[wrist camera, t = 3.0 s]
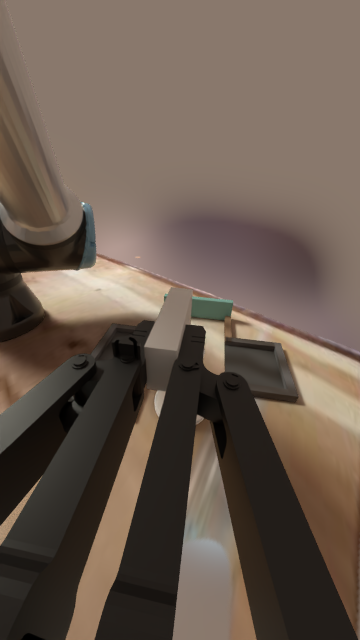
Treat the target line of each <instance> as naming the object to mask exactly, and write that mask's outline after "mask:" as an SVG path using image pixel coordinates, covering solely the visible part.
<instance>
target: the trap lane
mask: <svg viewBox="0 0 360 640" xmlns="http://www.w3.org/2000/svg"><path fill="white" fill-rule="evenodd" d="M136 327H137V326H129V325H121V324H112V325H111V326H110V328H109V329H108V331H107V332H106V333H105V335H104V336H103V338H102V339H101V340H100V342H99V343H98V345H97V346H96V347H95V349H94V350H93V351H92V353H91V354H90V355H92V356H93V357H94V359H95V361H102V360H109V359H112V358H113V349H112V343H111V342H112V341H113V340H114V339H116V338H118V337H120V336H125V335H130V336H132V334H133V332H134V331H135V329H136ZM224 333H225V372H234V373H237V374H240V375H241V376H242V377H244V378H245V380H246V381H247V383H248V385H249V387H250V390H251V392H252V394H253V396H256V397H263V398H270V399H277V400H284V401H291V402H296V401H297V399H298V394H297V391H296V388H295V385H294V382H293V379H292V376H291V373H290V370H289V367H288V364H287V361H286V358H285V355H284V352H283V349H282V346H281V343H274V342H265V341H257V340H248V339H240V338H232V332H231V316H225V320H224Z"/></svg>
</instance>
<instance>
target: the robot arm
mask: <svg viewBox="0 0 360 640" xmlns="http://www.w3.org/2000/svg"><path fill="white" fill-rule="evenodd" d="M95 242H96V241H95V225H94V217H93V211H92V207H91V206H90V205H89V204H87V203H84V202H80V200H79V198H78V197H77V195H76V194H75V193H74V192H73V191H72V190H71V189H70V188H68V187H67V186H65V185H64V181H63V179H62V175H61V172H60V169H59V166H58V163H57V160H56V156H55V153H54V150H53V147H52V144H51V141H50V138H49V135H48V131H47V129H46V125H45V122H44V119H43V116H42V113H41V110H40V106H39V103H38V100H37V97H36V94H35V91H34V88H33V85H32V81H31V79H30V75H29V72H28V69H27V66H26V63H25V60H24V57H23V53H22V50H21V47H20V44H19V41H18V38H17V35H16V31H15V28H14V25H13V22H12V19H11V16H10V13H9V10H8V6H7V3H6V0H0V341H5V340H8V339H11V338H14V337H17V336H19V335H22V334H24V333H26V332H28V331H29V330H31V329H33V328H34V327H36V326H37V325H38V324H39V323H40V322H41V321H42V319H43V317H44V310H43V307H42V304H41V302H40V301H39V300H38V298H37V297H36V296H35V295H34V293H33V292H32V291H31V290H30V288H29V287H28V286H27V285H26V283H25V282H24V281H23V278H22V275H21V273H26V272H42V271H58V270H80V269H84V268H91V267H93V266H94V265H95V263H96V244H95ZM192 294H193V289H183V288H172V287H171V289H170V291H169V293H168V295H167V297H166V300H165V302H164V304H163V306H162V308H161V311H160V313H159V315H158V317H157V319H156V322H154V321H145V320H144V321H142V322H141V323H139V324H138V325H137V327H136V329H135V331H134V332H133V334H132V336H130V335H125V336H120V337H118V338H116V339H114V340H113V341H112V342H111V343H112V349H113V358H112V359H109V360H102V361H95V359H94V357H93V356H92V355H90V354H78V355H75V356H73V357H71V358H70V359H68V360H67V361H66V362H64V363H63V364H62V365H61V366H59V367H58V368H57V369H56V370H55V371H53V372H52V373H51V374H50V375H48V376H47V377H46V378H45V379H43V380H42V381H41V382H40V383H39V384H37V385H36V386H35V387H34V388H32V389H31V390H30V391H29V392H27V393H26V394H25V395H24V396H23V397H21V398H20V399H19V400H18V401H16V402H15V403H14V404H13V405H12V406H10V407H9V408H8V409H7V410H5V411H4V412H3V413H2V414H0V525H1V524H2V523H3V522H4V521H5V520H6V518H7V517H8V516H9V515H10V514H11V512H12V511H13V510H14V509H15V508H16V506H17V505H18V504H19V503H20V502H21V500H22V499H23V498H24V497H25V496H26V494H27V493H28V492H29V491H30V490H31V488H32V487H33V486H34V485H35V484H36V483H37V481H38V480H39V479H40V478H41V477H42V478H41V479H40V481H39V483H38V484H37V486H36V488H35V490H34V491H33V493H32V495H31V496H30V498H29V500H28V501H27V503H26V505H25V506H24V508H23V510H22V511H21V513H20V515H19V516H18V518H17V520H16V522H15V523H14V525H13V527H12V528H11V530H10V532H9V533H8V535H7V537H6V538H5V540H4V541H3V543H2V544H1V546H0V640H65V639H66V636H67V633H68V630H69V627H70V623H71V620H72V617H73V613H74V608H75V602H76V594H77V589H78V585H79V582H80V579H81V576H82V573H83V570H84V567H85V565H86V562H87V559H88V556H89V553H90V550H91V547H92V544H93V542H94V539H95V536H96V533H97V530H98V527H99V524H100V522H101V519H102V516H103V513H104V510H105V507H106V504H107V501H108V499H109V496H110V493H111V490H112V487H113V484H114V481H115V479H116V476H117V473H118V470H119V467H120V464H121V461H122V458H123V456H124V453H125V450H126V447H127V444H128V441H129V438H130V435H131V433H132V430H133V427H134V424H135V421H136V418H137V415H138V413H139V410H140V407H141V404H142V401H143V398H144V387H145V384H146V385H147V389H152V390H159V391H166V393H165V397H164V401H163V404H162V408H161V412H160V416H159V420H158V423H157V427H156V431H155V435H154V439H153V442H152V446H151V450H150V454H149V458H148V461H147V465H146V469H145V473H144V477H143V480H142V484H141V488H140V492H139V496H138V499H137V503H136V507H135V511H134V514H133V518H132V522H131V526H130V530H129V533H128V537H127V541H126V545H125V549H124V552H123V556H122V560H121V564H120V567H119V571H118V574H117V577H116V579H115V581H114V583H113V585H112V587H111V589H110V591H109V594H108V597H107V600H106V602H105V605H104V609H103V612H102V615H101V619H100V622H99V626H98V630H97V633H96V637H95V640H172V637H173V628H174V618H175V610H176V600H177V591H178V582H179V573H180V564H181V555H182V546H183V537H184V528H185V519H186V510H187V500H188V491H189V482H190V473H191V464H192V455H193V446H194V437H195V427H196V418H197V415H199V416H201V417H203V418H205V419H207V420H210V424H211V428H212V433H213V438H214V442H215V447H216V452H217V456H218V461H219V466H220V470H221V475H222V480H223V484H224V489H225V494H226V498H227V503H228V508H229V512H230V517H231V522H232V526H233V531H234V536H235V540H236V545H237V550H238V554H239V559H240V564H241V568H242V573H243V578H244V582H245V587H246V592H247V596H248V601H249V606H250V610H251V615H252V620H253V624H254V629H255V634H256V638H257V640H358V638H357V636H356V633H355V631H354V629H353V626H352V624H351V622H350V619H349V617H348V615H347V612H346V610H345V608H344V605H343V603H342V601H341V598H340V596H339V594H338V592H337V589H336V587H335V585H334V582H333V580H332V578H331V575H330V573H329V571H328V568H327V566H326V564H325V561H324V559H323V557H322V554H321V552H320V550H319V547H318V545H317V543H316V541H315V538H314V536H313V534H312V531H311V529H310V527H309V524H308V522H307V520H306V517H305V515H304V513H303V510H302V508H301V506H300V503H299V501H298V499H297V496H296V494H295V492H294V489H293V487H292V485H291V483H290V480H289V478H288V476H287V473H286V471H285V469H284V466H283V464H282V462H281V459H280V457H279V455H278V452H277V450H276V448H275V445H274V443H273V441H272V438H271V436H270V434H269V431H268V429H267V427H266V425H265V422H264V420H263V418H262V415H261V413H260V411H259V408H258V406H257V404H256V401H255V399H254V397H253V394H252V392H251V390H250V387H249V385H248V383H247V381H246V380H245V378H244V377H242V376H241V375H240V374H237V373H234V372H224V373H221V374H220V375H219V376H218V375H216V374H213V373H211V372H210V371H208V370H207V369H206V368H205V367H204V365H203V353H204V344H205V334H206V331H205V329H204V328H203V326H196V325H190V324H191V309H192ZM42 475H43V476H42Z"/></svg>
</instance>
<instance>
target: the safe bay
mask: <svg viewBox="0 0 360 640" xmlns="http://www.w3.org/2000/svg"><path fill="white" fill-rule="evenodd" d="M167 295H168V294H165V296H164V302H165V300H166V297H167ZM232 306H233V301H232V300H223V299H213V298H203V297H193V296H192V309H191V317H198V318H208V319H217V320H225V316H231V312H232Z"/></svg>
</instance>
